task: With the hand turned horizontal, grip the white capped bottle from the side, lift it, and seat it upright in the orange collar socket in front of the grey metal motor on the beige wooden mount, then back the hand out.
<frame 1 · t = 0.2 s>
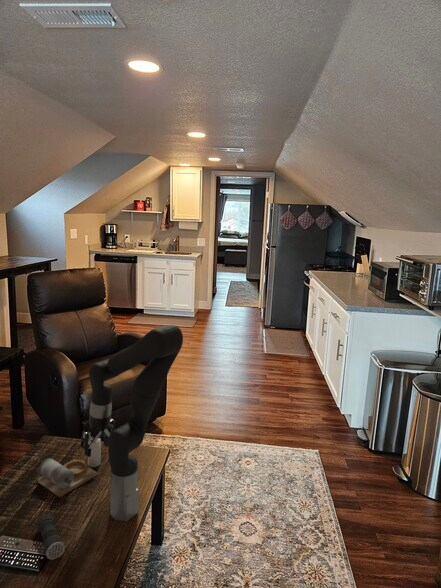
hand: (97, 450, 152), 19 cm above the table, fingers open, 8 cm apart
motor mount: (67, 478, 164), on the table
flashlight: (50, 543, 133), on the table
white capped bottle: (94, 463, 175), on the table
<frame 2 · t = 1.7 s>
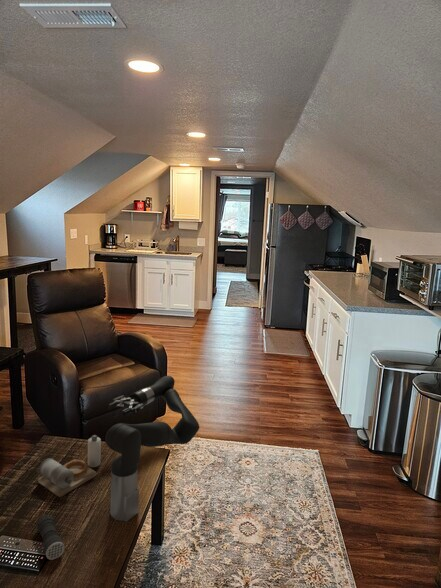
hand: (115, 410, 180), 21 cm above the table, fingers open, 8 cm apart
nothing on the table moved.
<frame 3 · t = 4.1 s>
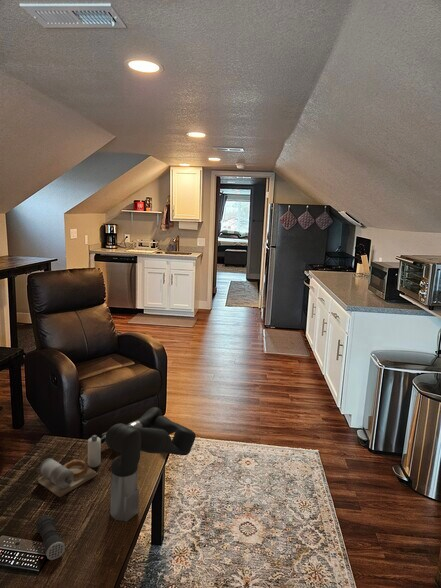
hand: (104, 446, 178), 5 cm above the table, fingers open, 8 cm apart
nothing on the table moved.
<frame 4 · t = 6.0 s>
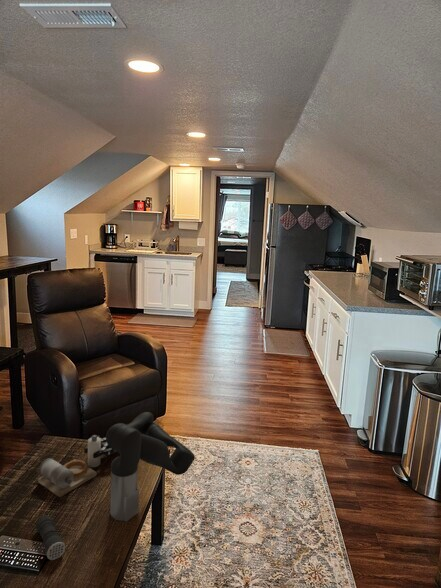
hand: (89, 453, 172), 6 cm above the table, fingers closed on white capped bottle, 5 cm apart
white capped bottle: (94, 463, 175), on the table, touching gripper
everything else where it was.
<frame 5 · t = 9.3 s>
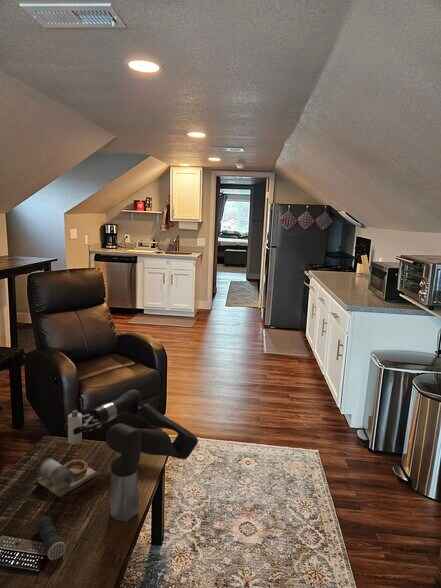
hand: (69, 429, 161), 21 cm above the table, fingers closed on white capped bottle, 5 cm apart
white capped bottle: (75, 440, 164), point 15 cm above the table, touching gripper
everything else where it was.
when the fingers open (9 cm above the table, at t = 12.4 s): white capped bottle drops 1 cm, resting on motor mount.
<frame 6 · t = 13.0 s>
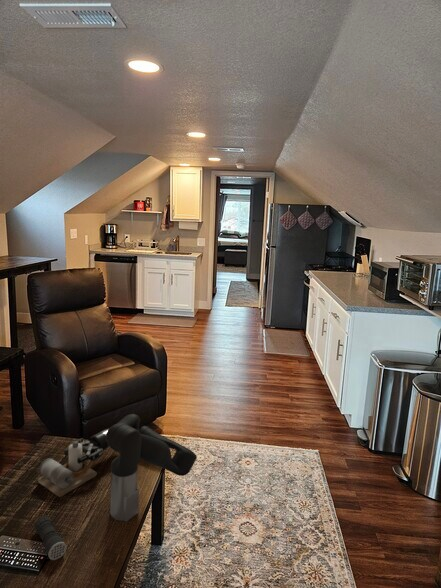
hand: (71, 457, 164), 9 cm above the table, fingers open, 8 cm apart
white capped bottle: (75, 471, 167), point 2 cm above the table, touching motor mount
everything else where it was.
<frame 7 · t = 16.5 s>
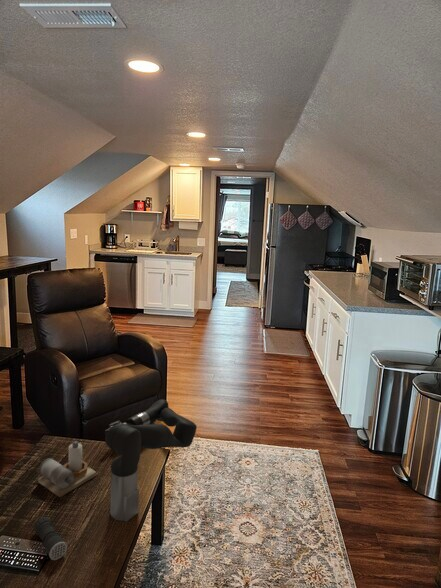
hand: (111, 436, 181), 8 cm above the table, fingers open, 8 cm apart
nothing on the table moved.
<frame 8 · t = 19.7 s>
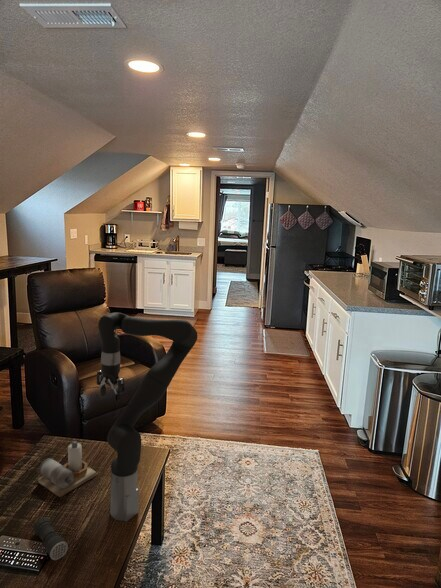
hand: (110, 398, 170), 30 cm above the table, fingers open, 8 cm apart
nothing on the table moved.
at the end: white capped bottle 0.1 cm from the target spot on the motor mount, point 1.6 cm above the motor mount's base; white capped bottle tilted 1°; the gripper is holding nothing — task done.
